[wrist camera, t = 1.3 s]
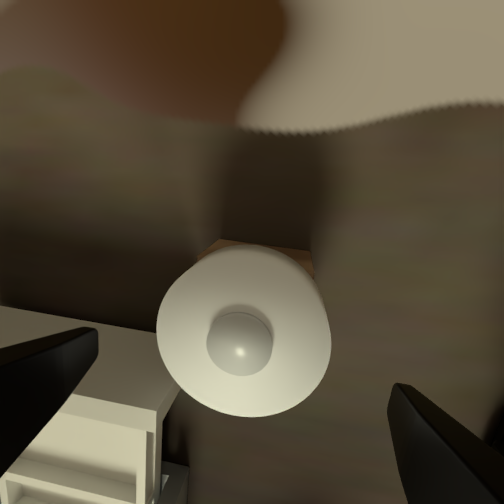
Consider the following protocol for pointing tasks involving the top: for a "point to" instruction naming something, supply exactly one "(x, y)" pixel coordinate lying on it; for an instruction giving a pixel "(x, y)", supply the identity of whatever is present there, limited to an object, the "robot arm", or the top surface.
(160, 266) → the top surface
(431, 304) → the top surface
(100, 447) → the tray
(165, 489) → the housing
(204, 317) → the disc
